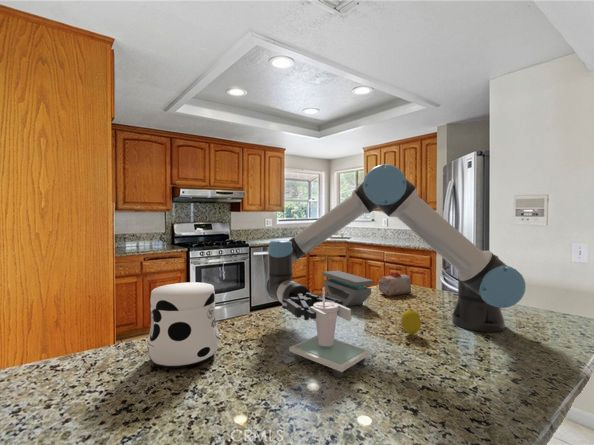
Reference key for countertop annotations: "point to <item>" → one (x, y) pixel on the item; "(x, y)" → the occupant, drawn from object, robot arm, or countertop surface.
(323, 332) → the smoothie
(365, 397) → the countertop surface
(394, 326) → the countertop surface
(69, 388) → the countertop surface
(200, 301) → the milk container
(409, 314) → the lemon
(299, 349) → the tray
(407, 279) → the grey boxy piece
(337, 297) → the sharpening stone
